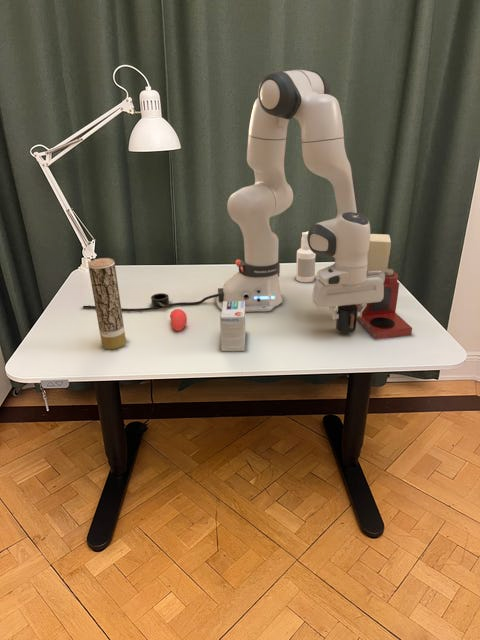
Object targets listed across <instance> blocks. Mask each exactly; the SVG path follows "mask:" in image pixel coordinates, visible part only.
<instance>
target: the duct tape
mask: <svg viewBox="0 0 480 640" xmlns="http://www.w3.org/2000/svg"><path fill="white" fill-rule="evenodd" d="M150 301H151V307H158V306H163V307H166V308H170V307H169V306H168V305H167V304H170V296H169V294H167V293H162V292H161V293H155V294H153V295H151V296H150Z"/></svg>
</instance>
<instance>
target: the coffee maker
mask: <svg viewBox="0 0 480 640" xmlns="http://www.w3.org/2000/svg"><path fill="white" fill-rule="evenodd" d="M382 272H383V271H382ZM398 279H399V274H398V273H397V272H395V271H394V272H393V276H392V277H385V280H384V283H383V285H384V288H392V289H391V296H390V304H389V309H385V310H375V311H370V306H371V303H367V306H366V308H365V309H364V310H363V312H362V316H366V315H376V314H386V313H397V312H396V310H397V304H398V296H399V289H400V282H398ZM355 305H356V306H357V307H358V308H359V306H360V304H355ZM361 318H362V317H357V319H356V320H357V321H358V322H359V323H360V324H361Z"/></svg>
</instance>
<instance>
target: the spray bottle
mask: <svg viewBox="0 0 480 640" xmlns="http://www.w3.org/2000/svg"><path fill="white" fill-rule="evenodd" d="M308 232H309V230H307V231H305V232H303V231H302V232H301V239H300V240H301V241H300V248H297V250H296V264H295V265H296V266H295V267H296V268H295V279H296V281H297V282H300V283H311V282H313V281H314V280H315V276H316V275H315V274H316V273H315V271H316V256H317V255H316V254H315V253H313V252H312V251H311V249H310V247H309V245H308V240H307V236H308Z"/></svg>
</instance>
